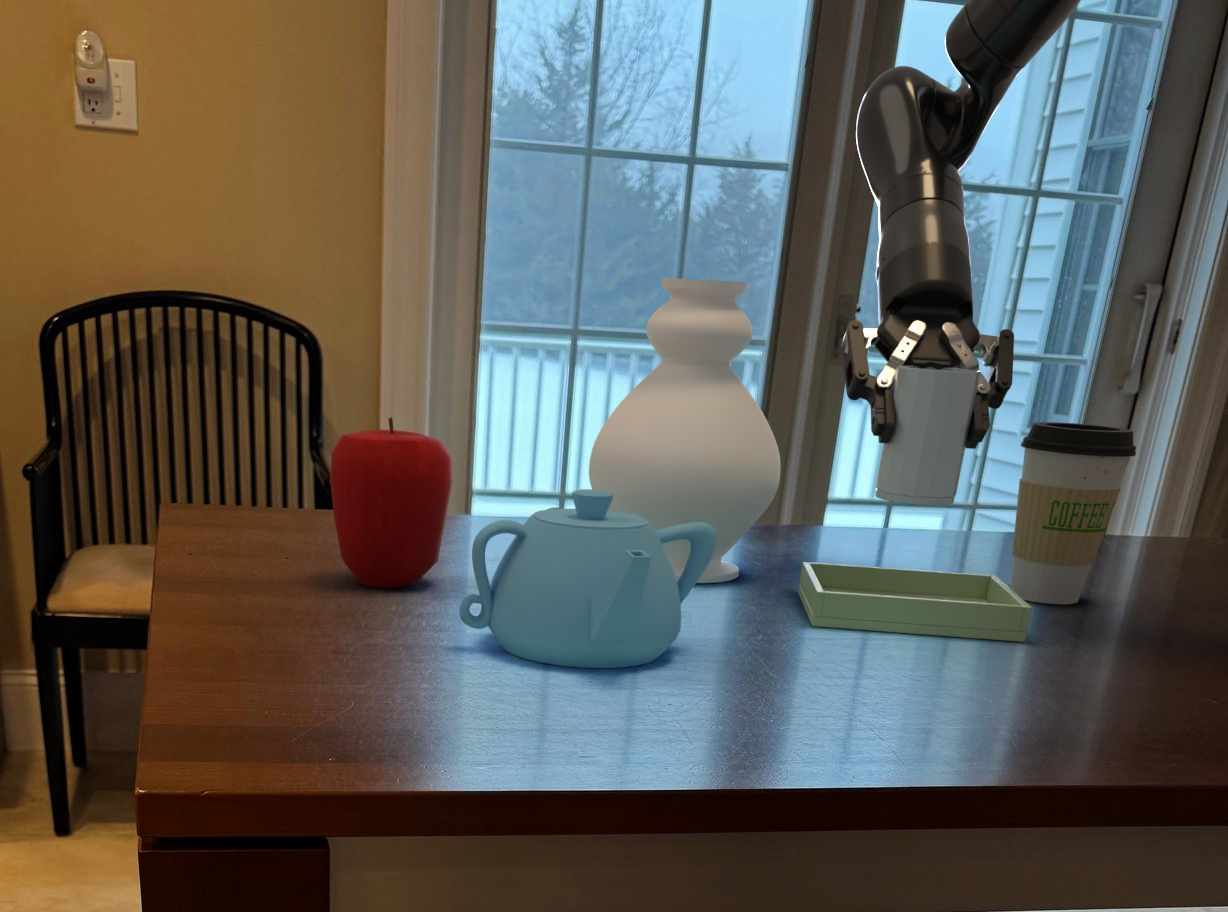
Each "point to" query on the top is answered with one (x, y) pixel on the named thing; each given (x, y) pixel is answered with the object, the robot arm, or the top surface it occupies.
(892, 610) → the tray
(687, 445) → the decorative vase
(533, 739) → the top surface
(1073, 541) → the coffee cup
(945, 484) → the container
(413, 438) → the apple
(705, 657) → the top surface
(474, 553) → the teapot
